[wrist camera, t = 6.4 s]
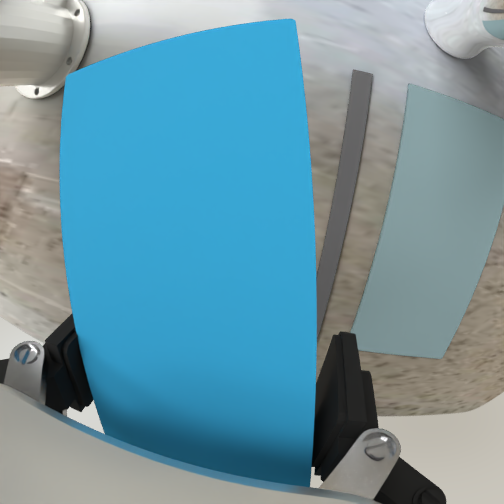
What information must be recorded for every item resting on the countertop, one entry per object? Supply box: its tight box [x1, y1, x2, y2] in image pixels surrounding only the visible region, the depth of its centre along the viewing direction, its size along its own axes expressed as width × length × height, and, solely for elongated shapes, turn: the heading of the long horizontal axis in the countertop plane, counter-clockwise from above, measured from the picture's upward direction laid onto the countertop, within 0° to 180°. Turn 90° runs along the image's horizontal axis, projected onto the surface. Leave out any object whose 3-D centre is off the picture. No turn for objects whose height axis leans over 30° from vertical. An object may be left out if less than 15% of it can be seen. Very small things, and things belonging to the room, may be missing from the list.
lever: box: [60, 19, 317, 487], centre depth 11 cm, size 7×7×18 cm
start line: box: [316, 70, 373, 339], centre depth 27 cm, size 26×2×1 cm, turn 173°
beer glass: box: [424, 0, 504, 59], centre depth 11 cm, size 7×7×15 cm
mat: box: [350, 84, 504, 359], centre depth 26 cm, size 26×12×1 cm, turn 173°
